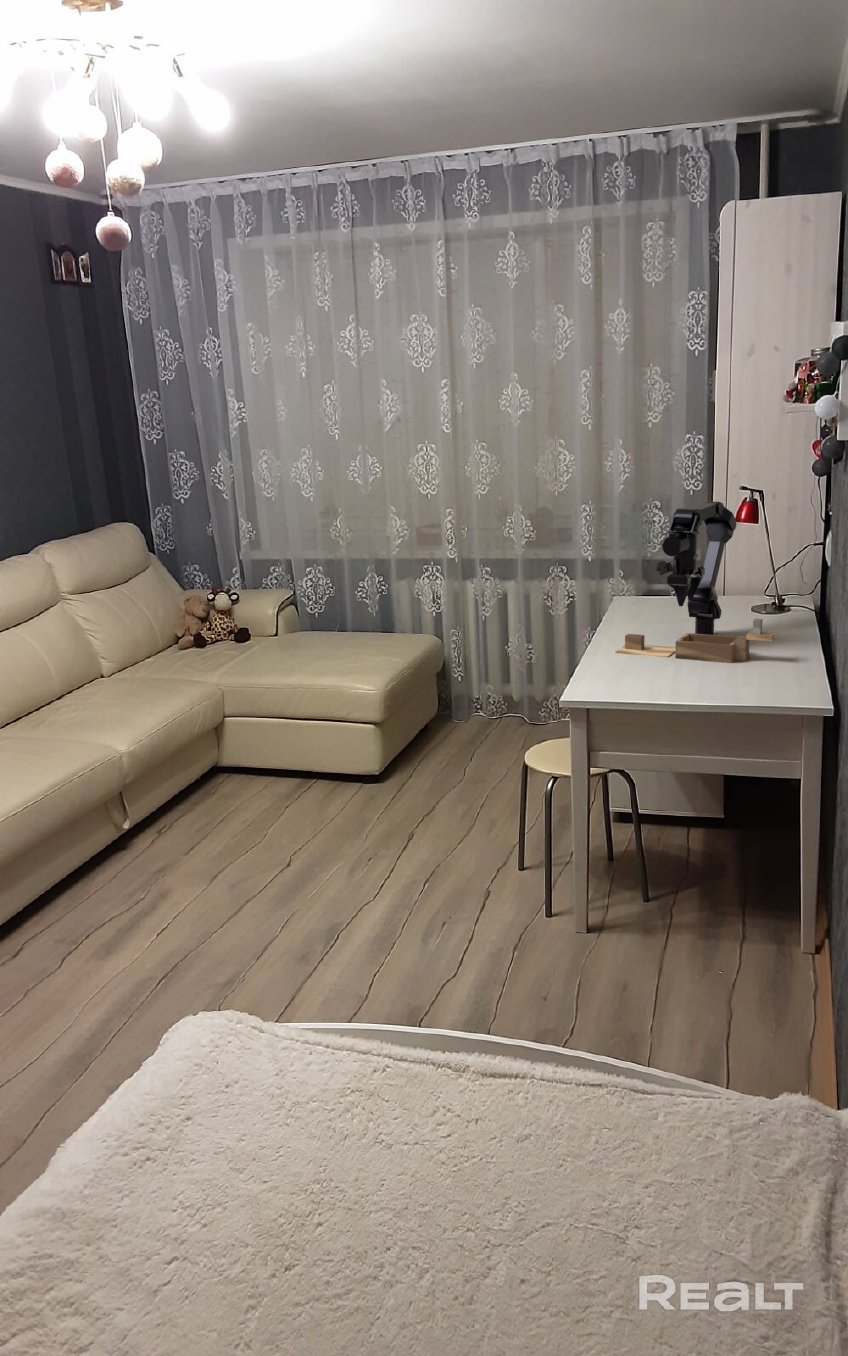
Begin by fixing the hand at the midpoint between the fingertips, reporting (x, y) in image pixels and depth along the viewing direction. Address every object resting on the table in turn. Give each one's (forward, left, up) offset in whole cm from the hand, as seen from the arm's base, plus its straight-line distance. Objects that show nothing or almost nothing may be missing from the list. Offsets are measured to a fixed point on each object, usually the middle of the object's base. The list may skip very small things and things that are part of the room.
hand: (685, 603), depth 316 cm
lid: (+10, -8, -14) cm, 19 cm away
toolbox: (+10, +12, -13) cm, 20 cm away
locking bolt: (+10, +25, -7) cm, 27 cm away
